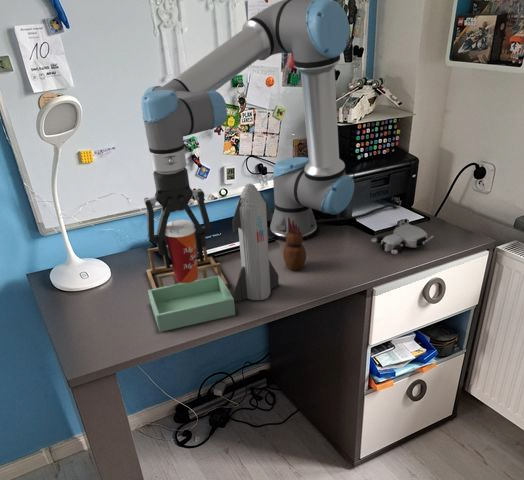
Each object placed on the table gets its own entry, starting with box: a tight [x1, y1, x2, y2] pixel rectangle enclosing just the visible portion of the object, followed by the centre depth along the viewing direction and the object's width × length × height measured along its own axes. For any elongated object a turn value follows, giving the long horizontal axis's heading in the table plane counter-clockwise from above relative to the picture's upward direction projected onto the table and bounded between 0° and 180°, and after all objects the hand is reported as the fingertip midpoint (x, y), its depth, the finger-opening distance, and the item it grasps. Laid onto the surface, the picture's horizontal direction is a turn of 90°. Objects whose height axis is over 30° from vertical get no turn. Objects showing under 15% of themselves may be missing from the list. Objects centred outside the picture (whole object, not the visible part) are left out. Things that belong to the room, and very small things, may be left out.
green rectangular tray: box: [147, 274, 236, 333], centre depth 136 cm, size 20×14×5 cm
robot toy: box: [371, 222, 434, 255], centre depth 159 cm, size 12×4×15 cm
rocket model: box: [231, 183, 279, 303], centre depth 134 cm, size 14×7×30 cm, turn 124°
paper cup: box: [164, 219, 199, 283], centre depth 128 cm, size 8×8×14 cm
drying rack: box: [145, 239, 229, 289], centre depth 149 cm, size 20×18×8 cm
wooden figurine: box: [282, 217, 307, 271], centre depth 149 cm, size 7×6×15 cm
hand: (184, 262), depth 129 cm, fingers closed on paper cup, 8 cm apart
